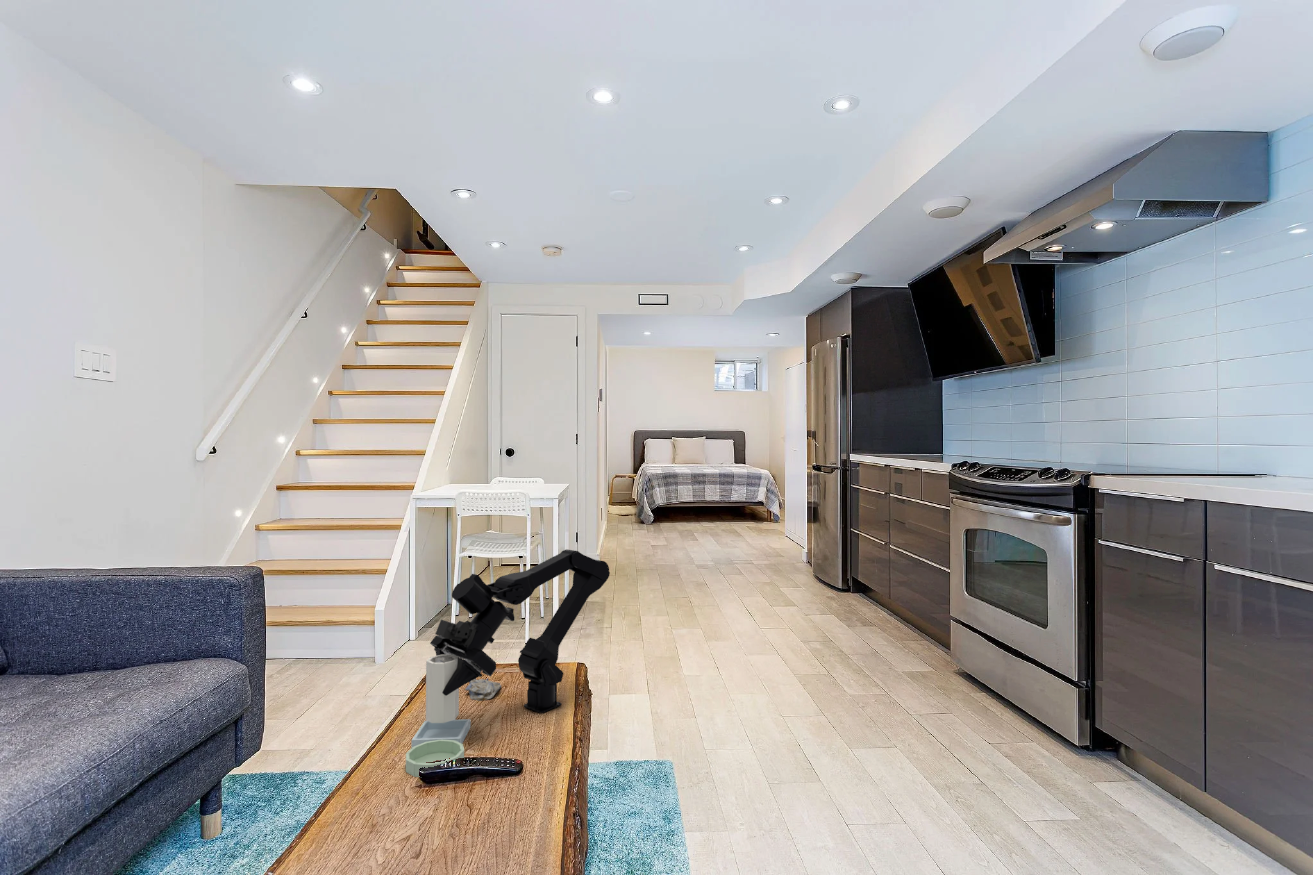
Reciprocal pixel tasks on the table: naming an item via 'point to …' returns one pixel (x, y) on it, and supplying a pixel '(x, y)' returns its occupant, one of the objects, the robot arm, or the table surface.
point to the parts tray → (442, 731)
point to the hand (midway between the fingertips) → (436, 690)
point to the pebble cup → (441, 689)
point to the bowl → (432, 754)
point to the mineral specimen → (482, 689)
